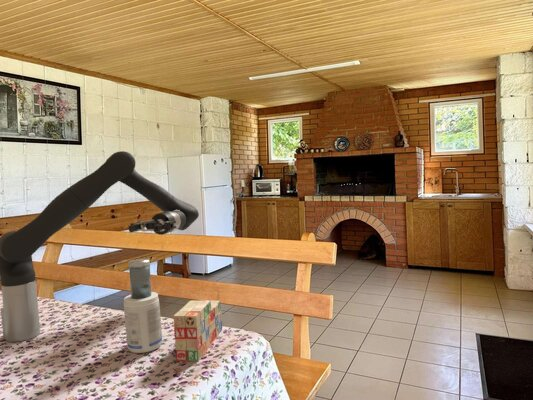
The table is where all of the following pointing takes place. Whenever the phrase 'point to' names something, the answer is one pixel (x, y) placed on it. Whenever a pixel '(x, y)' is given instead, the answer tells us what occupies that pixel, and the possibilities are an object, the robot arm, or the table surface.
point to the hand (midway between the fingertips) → (142, 228)
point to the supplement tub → (143, 323)
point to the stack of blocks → (196, 329)
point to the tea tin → (140, 278)
